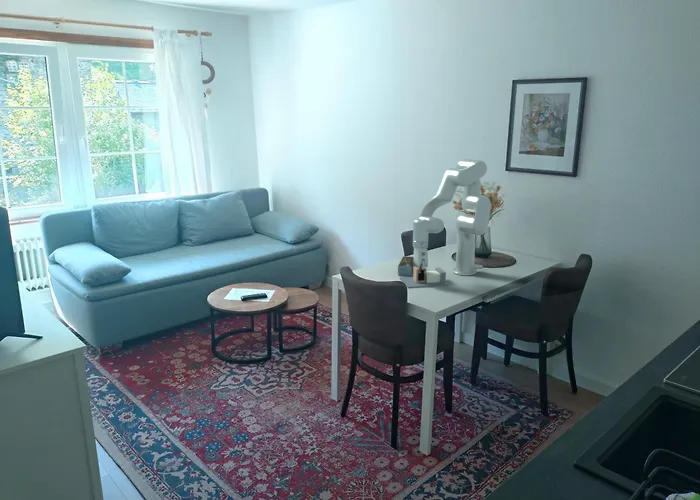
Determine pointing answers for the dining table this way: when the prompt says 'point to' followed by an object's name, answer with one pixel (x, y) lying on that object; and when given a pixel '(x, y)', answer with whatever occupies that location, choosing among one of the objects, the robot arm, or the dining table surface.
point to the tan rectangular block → (415, 274)
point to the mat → (413, 284)
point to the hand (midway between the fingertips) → (419, 278)
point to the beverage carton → (406, 267)
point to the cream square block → (436, 276)
